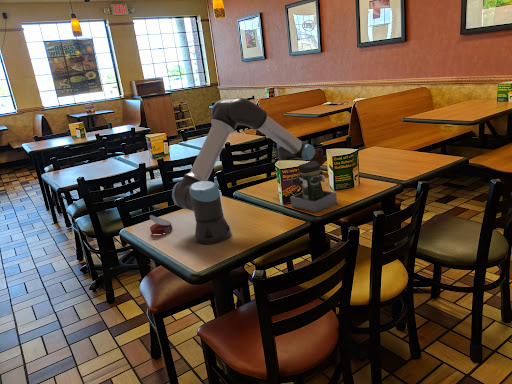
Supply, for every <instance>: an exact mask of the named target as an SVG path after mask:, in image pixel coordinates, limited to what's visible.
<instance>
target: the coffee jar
mask: <svg viewBox="0 0 512 384" xmlns="http://www.w3.org/2000/svg"><path fill="white" fill-rule="evenodd" d="M298 166H299V174H300V176H301V178H302V179H304V180H306V181H307V185H308V187H305V186H303V185H301V188H302V191H301V192H302V193H303V199H307V200H312V201H316V200H319V199H321V198H323V197H324V193H323V191H324V189H323V186H322V185H323V184H322V181H321V180H320V171H322V170H321V166H320V165H319V163H318V162H316V161H312V162H309V161H308V162H306V163H302V164H299V165H298Z"/></svg>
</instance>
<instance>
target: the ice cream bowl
mask: <svg viewBox="0 0 512 384" xmlns="http://www.w3.org/2000/svg"><path fill="white" fill-rule="evenodd" d="M314 149H315V154H314V157H313V158H312V159H310V160H307V161H308V162H309V161H310V162H312V161H316V162H318V163H319V165H320V167H321V166H322V165H324V164H325V163H326V162H327V156H326V155H324V154H325V152H324V150H323V148H320V147H316V148H314ZM320 172H323V173H324V170H323V171H322V170H321V171H320Z"/></svg>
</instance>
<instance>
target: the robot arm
mask: <svg viewBox="0 0 512 384" xmlns="http://www.w3.org/2000/svg"><path fill="white" fill-rule="evenodd" d="M210 110H211V112H210V114H211V120H210V124H211V127H210V129H209V132H208V134H207V135H206V137H205V140H204V141H203V144H202V146H201V148H200V150H199V153H198V154H197V156H196V158H195V160H194V162H193V165H192V167H191V169H190V171H189V172H188V173H185V174H184V175H183V178H182V179H181V181H178V182H177V183H175V184H174V186H173V187H172V191H171V197H172V200H173V202H174V204H175V205H176V206H178V207H180V208H181V209H185V210H187V211H191V212H193V214H194V217H195V222H196V223H195V232H194V239H195V242H196V243H198V244H199V243H200V245H212V244H217V243H221V242H223V241H226V240H227V239H228V238H230V237H231V235H232V231H231V227H230V225H229V224H228V222H227V220H226V219H225V216H224V211H223V205H222V201H221V195H220V194H221V193H220V190H219V186H218V184H217V183H215V182H213V181H210V180H209V178H210V176H211V174H212V172H213V169H214V167H215V165H216V163H217V162H218V158H219V156H220V155H221V152H222V150H223V148H224V146H225V144H226V142H227V140H228V138H229V136H230V135H231V134H234V133H235V131H236V129H237V127H238V126H246V127H248V128H251V129H252V130H254V131H259V132H260V133H261V134H264V135H265V136H266V137H267V138H269V139H271V140H272V141H273V142H275V143H276V150H277V155H278V161H279V160H294V161H295V160H303V161H306V160H307V161H308V160H310V159H312V158H313V157H314V154H315V149H316V148H315V147H314V145H313V144H309V143H304V142H303V141H302V140H301V139H299V138H298V137H296V136H295V135H293V133H291V132H290V131H288V130H287V129H286V128H284V127H283V126H282V125H281V124H279V123H278V122H276V121H275V120H274V119H272V117H270V116H268V112H267V111H266V110H265V109H263V108H262V107H260V106H259V105H258V104H256V103H255V102H253V101H251V100H249V99H246V98H244V97H237V98H223V99H220V100H218V101H216V102H215V103H214V104H213V106H212V108H211V109H210ZM296 179H297V180H295V179H294V178H293V177H291V184H292V185H296V186H302V185H303V186H305V187H308V185H307V181H306V180H304V179H302V178H299V176H296ZM320 180H321V183H326V176H325V175H324V171H323V172H320Z"/></svg>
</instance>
